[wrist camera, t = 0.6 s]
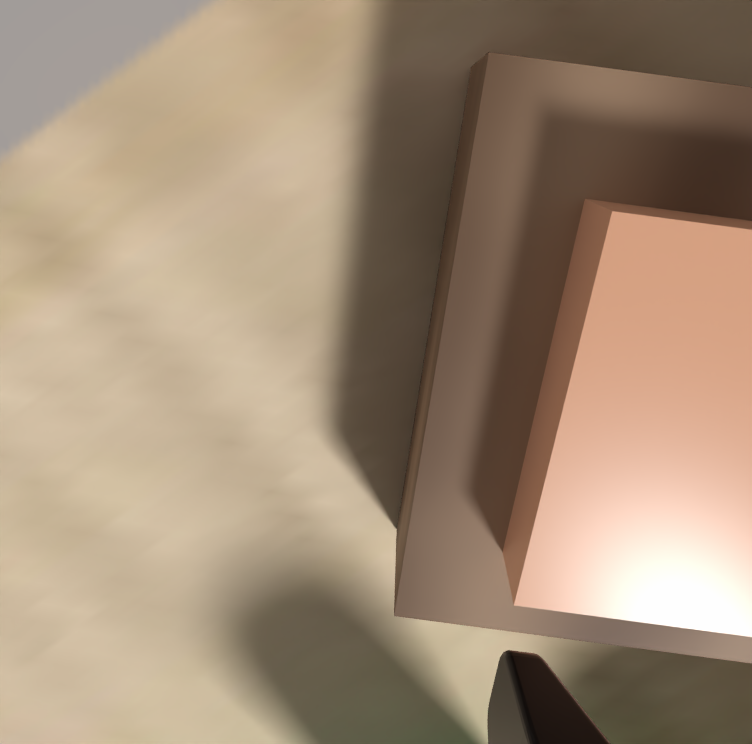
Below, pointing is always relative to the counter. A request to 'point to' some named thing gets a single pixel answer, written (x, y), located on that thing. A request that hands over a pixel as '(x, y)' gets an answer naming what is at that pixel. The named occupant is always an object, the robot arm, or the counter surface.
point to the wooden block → (540, 310)
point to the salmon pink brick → (644, 428)
